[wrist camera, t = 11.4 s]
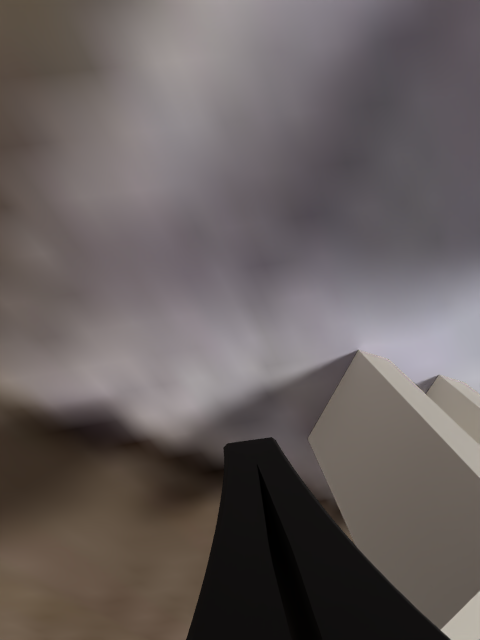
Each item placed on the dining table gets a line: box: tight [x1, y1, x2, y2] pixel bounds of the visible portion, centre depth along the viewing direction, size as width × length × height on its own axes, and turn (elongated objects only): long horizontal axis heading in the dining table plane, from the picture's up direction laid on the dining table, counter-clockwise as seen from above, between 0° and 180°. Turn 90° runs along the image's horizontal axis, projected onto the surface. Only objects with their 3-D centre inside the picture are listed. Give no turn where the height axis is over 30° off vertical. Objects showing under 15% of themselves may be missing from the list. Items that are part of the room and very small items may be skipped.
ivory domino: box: [308, 350, 480, 640], centre depth 12 cm, size 2×5×8 cm, turn 158°
